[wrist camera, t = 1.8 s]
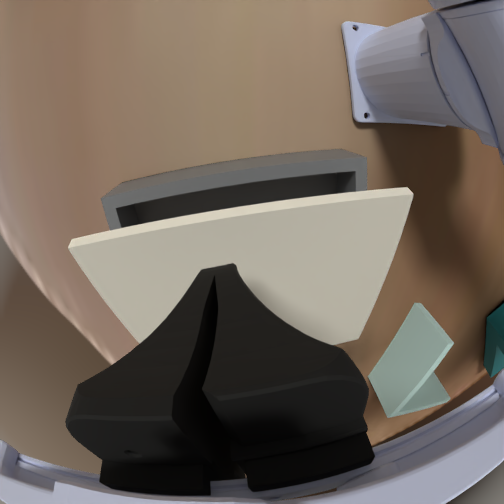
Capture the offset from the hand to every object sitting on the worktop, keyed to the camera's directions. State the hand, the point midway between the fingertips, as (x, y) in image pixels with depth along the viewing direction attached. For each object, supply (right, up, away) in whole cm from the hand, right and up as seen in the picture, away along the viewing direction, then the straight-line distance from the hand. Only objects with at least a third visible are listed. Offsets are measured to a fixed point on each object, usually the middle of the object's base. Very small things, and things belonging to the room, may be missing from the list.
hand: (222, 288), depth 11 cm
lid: (+1, -2, +6) cm, 6 cm away
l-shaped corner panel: (+23, -10, +20) cm, 32 cm away
